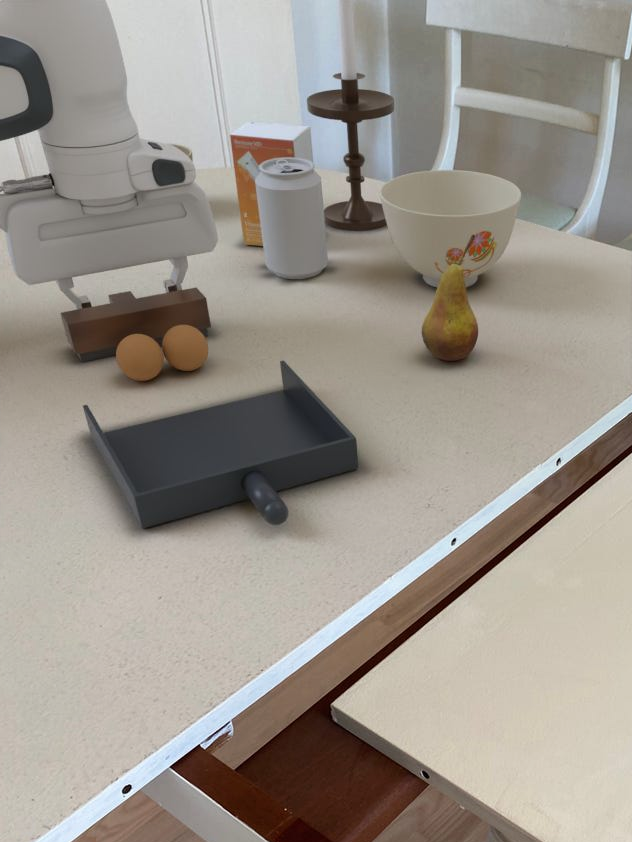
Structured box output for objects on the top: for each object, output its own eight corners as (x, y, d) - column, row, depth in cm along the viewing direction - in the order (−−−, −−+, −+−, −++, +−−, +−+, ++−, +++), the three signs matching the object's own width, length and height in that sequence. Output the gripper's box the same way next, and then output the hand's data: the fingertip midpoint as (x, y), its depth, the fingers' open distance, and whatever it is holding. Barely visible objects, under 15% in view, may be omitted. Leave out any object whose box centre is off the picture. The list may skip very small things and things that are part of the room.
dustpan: (91, 437, 87) (82, 405, 85) (287, 390, 95) (283, 360, 93) (165, 571, 73) (157, 537, 71) (389, 504, 81) (387, 471, 78)
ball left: (128, 392, 94) (118, 349, 91) (116, 374, 97) (105, 331, 94) (173, 382, 96) (164, 340, 93) (160, 364, 98) (151, 322, 95)
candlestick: (372, 200, 137) (357, -114, 113) (412, 223, 130) (405, -105, 107) (303, 213, 132) (271, -111, 109) (341, 238, 125) (316, -101, 102)
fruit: (426, 343, 103) (424, 227, 95) (480, 347, 103) (483, 230, 95) (418, 367, 99) (415, 247, 91) (474, 371, 99) (476, 251, 91)
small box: (243, 246, 123) (227, 133, 114) (261, 228, 127) (247, 119, 119) (304, 252, 122) (293, 139, 113) (320, 234, 126) (311, 124, 118)
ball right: (174, 382, 96) (165, 339, 93) (161, 364, 98) (152, 322, 95) (217, 372, 97) (210, 330, 94) (203, 355, 100) (196, 314, 97)
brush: (78, 364, 98) (67, 324, 95) (59, 332, 103) (48, 293, 100) (212, 336, 103) (206, 297, 101) (188, 307, 109) (181, 270, 106)
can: (284, 286, 114) (271, 177, 106) (255, 266, 118) (241, 160, 110) (340, 273, 117) (332, 166, 109) (310, 253, 121) (300, 150, 113)
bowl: (380, 306, 110) (376, 214, 103) (385, 253, 122) (382, 168, 115) (521, 307, 111) (526, 216, 104) (512, 255, 123) (516, 170, 116)
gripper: (-11, 193, 87) (35, 339, 97) (209, 161, 95) (232, 299, 104) (-23, 174, 91) (22, 316, 101) (190, 144, 99) (213, 279, 108)
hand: (131, 307), depth 103 cm, fingers open, 8 cm apart
